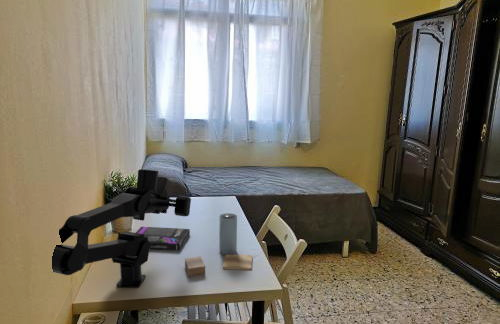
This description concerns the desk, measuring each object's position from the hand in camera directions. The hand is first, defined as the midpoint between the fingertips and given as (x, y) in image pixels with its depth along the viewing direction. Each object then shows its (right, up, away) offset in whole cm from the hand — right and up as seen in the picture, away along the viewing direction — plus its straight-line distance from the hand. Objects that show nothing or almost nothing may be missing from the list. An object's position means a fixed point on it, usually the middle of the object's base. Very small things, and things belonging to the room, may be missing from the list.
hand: (176, 203), depth 124 cm
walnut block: (+9, -20, -13) cm, 25 cm away
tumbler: (+18, -17, 0) cm, 25 cm away
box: (-8, -16, +8) cm, 19 cm away
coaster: (+22, -19, -8) cm, 30 cm away
